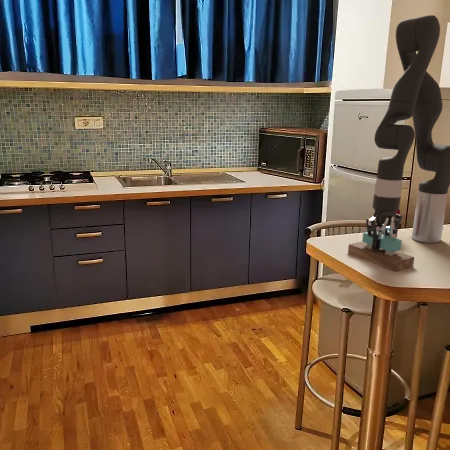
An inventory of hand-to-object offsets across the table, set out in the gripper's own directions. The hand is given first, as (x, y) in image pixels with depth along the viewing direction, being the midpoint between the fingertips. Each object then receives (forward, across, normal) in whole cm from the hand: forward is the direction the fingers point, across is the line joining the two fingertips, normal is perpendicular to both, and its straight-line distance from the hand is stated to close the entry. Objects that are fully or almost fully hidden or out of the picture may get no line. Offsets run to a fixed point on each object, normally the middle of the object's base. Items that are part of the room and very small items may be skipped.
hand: (380, 248), depth 137 cm
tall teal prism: (+3, 0, 0) cm, 3 cm away
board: (+4, 0, 0) cm, 4 cm away
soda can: (+4, -21, -14) cm, 26 cm away
